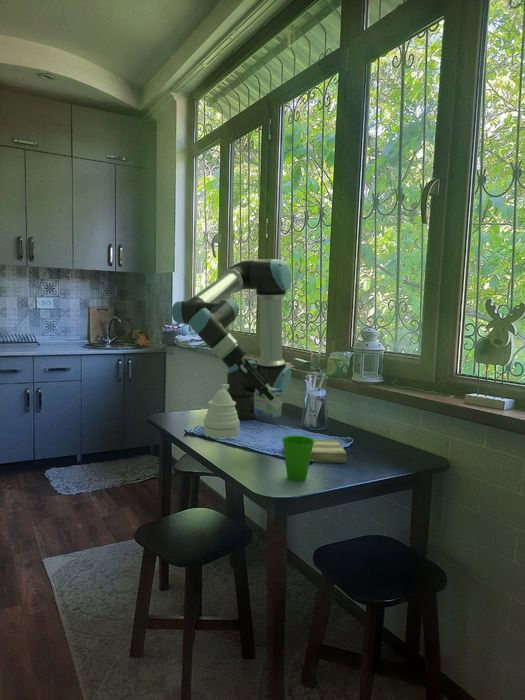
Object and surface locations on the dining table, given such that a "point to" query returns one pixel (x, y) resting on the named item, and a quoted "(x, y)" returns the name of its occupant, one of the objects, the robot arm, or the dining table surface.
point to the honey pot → (222, 416)
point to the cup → (297, 456)
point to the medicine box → (267, 404)
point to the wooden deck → (327, 451)
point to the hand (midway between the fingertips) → (278, 403)
